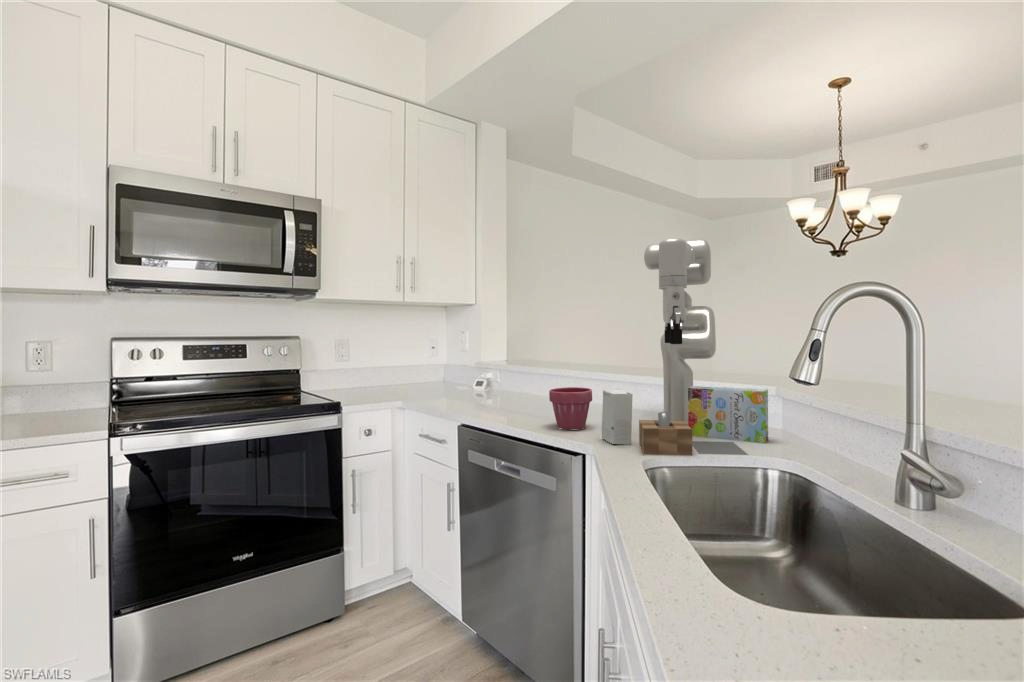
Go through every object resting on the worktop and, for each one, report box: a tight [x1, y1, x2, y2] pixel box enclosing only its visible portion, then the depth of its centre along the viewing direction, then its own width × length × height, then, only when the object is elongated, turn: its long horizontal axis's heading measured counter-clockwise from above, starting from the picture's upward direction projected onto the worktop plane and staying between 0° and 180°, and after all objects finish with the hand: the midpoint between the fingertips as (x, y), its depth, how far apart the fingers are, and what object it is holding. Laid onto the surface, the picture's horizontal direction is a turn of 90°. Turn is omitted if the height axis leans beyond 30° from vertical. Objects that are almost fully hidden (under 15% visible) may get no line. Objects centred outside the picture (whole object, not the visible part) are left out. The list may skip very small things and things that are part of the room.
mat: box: [692, 440, 749, 456], centre depth 133 cm, size 14×12×1 cm
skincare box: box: [601, 389, 633, 445], centre depth 143 cm, size 8×6×15 cm
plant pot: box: [548, 386, 593, 430], centre depth 164 cm, size 14×14×13 cm
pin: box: [657, 411, 670, 426], centre depth 132 cm, size 3×3×10 cm
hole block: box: [638, 419, 693, 457], centre depth 132 cm, size 12×12×7 cm
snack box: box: [688, 385, 769, 444], centre depth 144 cm, size 21×6×15 cm, turn 56°
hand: (673, 343), depth 140 cm, fingers open, 9 cm apart
